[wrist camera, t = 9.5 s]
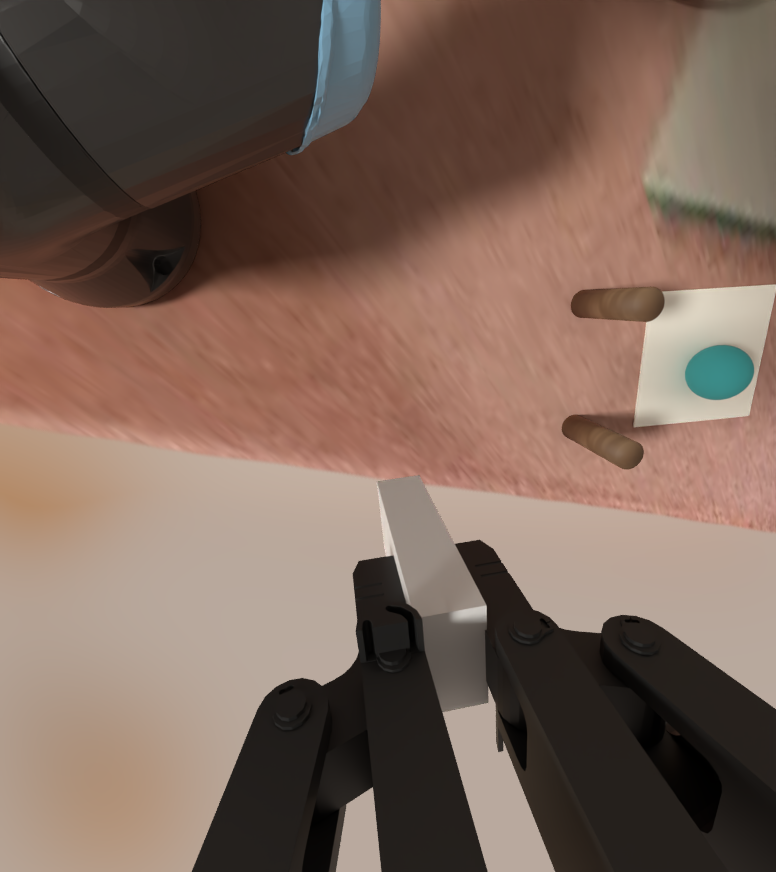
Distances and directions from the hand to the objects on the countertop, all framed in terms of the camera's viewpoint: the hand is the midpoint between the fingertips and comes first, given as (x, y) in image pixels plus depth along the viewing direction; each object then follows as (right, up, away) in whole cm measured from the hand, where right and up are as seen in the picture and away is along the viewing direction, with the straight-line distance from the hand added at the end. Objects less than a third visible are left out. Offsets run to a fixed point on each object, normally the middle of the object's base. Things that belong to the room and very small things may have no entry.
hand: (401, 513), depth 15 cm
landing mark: (+33, +11, +30) cm, 46 cm away
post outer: (+19, +4, +30) cm, 36 cm away
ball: (+33, +9, +28) cm, 44 cm away
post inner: (+19, +16, +26) cm, 36 cm away
